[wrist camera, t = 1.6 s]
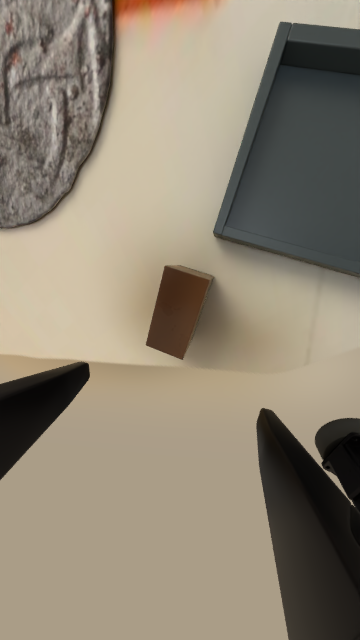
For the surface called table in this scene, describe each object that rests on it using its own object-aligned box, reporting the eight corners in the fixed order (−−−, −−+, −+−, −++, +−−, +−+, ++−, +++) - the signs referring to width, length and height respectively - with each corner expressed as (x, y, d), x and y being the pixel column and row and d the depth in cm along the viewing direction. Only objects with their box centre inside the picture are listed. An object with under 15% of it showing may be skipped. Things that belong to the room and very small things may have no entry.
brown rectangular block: (214, 276, 19) (210, 280, 14) (191, 339, 22) (182, 360, 17) (179, 265, 19) (164, 265, 15) (162, 328, 22) (145, 345, 17)
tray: (542, 91, 11) (613, 53, 9) (396, 287, 15) (420, 291, 13) (272, 56, 13) (280, 20, 11) (214, 236, 18) (212, 232, 16)
